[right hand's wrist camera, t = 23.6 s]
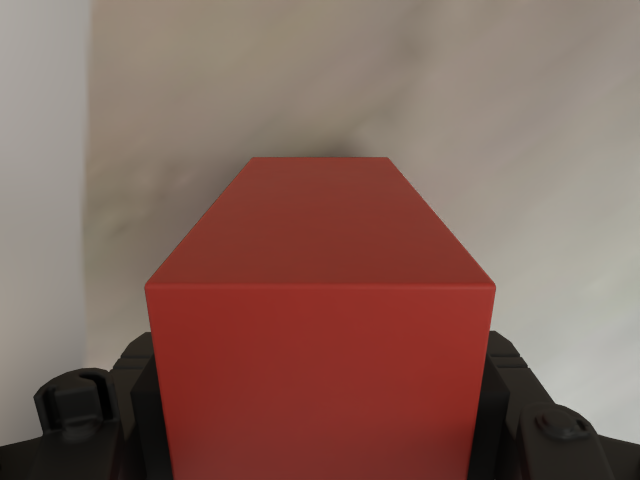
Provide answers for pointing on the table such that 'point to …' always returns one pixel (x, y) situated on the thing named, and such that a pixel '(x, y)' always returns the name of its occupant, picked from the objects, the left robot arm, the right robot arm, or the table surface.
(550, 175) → the table surface
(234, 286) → the brick
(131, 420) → the right robot arm
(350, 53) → the table surface
